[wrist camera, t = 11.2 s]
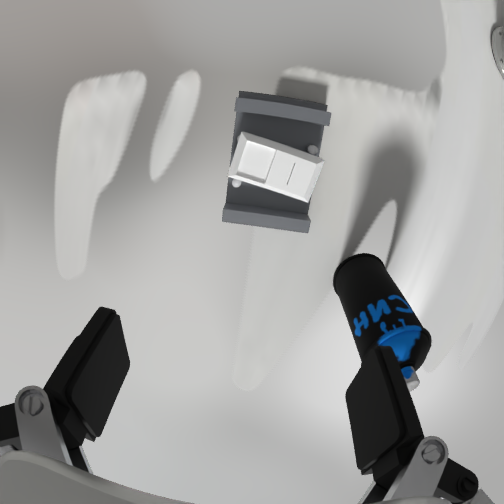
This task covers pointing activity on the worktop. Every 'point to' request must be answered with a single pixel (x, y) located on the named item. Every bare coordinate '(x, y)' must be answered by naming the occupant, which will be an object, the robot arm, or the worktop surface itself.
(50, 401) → the robot arm
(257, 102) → the pin tray
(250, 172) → the white rectangular block
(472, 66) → the worktop surface
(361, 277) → the aerosol can
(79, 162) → the worktop surface
